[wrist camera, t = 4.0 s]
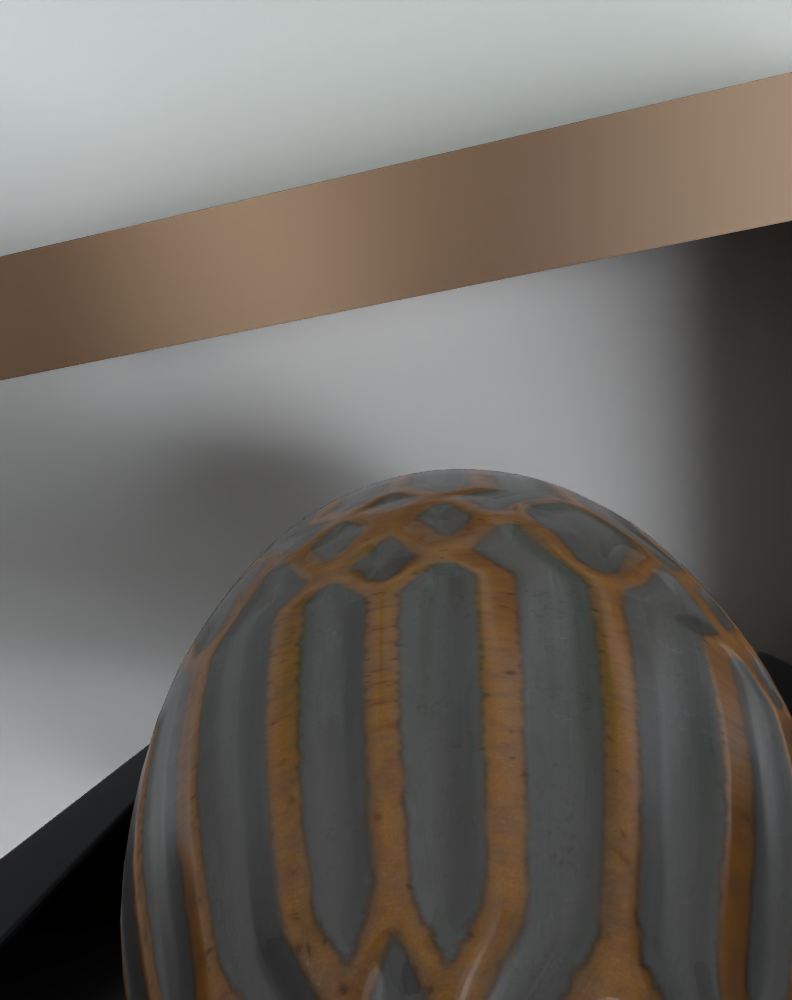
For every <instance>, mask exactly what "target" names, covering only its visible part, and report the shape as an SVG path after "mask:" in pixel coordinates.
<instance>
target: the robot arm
mask: <svg viewBox="0 0 792 1000" xmlns="http://www.w3.org/2000/svg"><path fill="white" fill-rule="evenodd" d="M756 654H757V655H758V657H759V658H760V660H761V661H762V663H763V665H764V666H765V668H766V669H767V671H768V672H769V674H770V676H771V678H772V680H773V682H774V684H775V686H776V687H777V689H778V691H779V693H780V695H781V697H782V699H783V701H784V703H785V705H786V706H787V708H788V710H789V712H790V714H791V716H792V665H791V664H789V663H787V662H785V661H783V660H781V659H779V658H777V657H775V656H773V655H770V654H768V653H764V652H758V653H756ZM149 745H150V744H149ZM149 745H148V746H146V747H145V748H144V749H142V750H141V751H140V752H138V753H137V754H136V755H135V756H133V757H132V758H131V759H129V760H128V761H127V762H126V763H124V764H123V765H122V766H120V767H119V768H118V769H117V770H115V771H114V772H113V773H111V774H110V775H109V776H107V777H106V778H105V779H104V780H102V781H101V782H100V783H98V784H97V785H96V786H95V787H93V788H92V789H91V790H89V791H88V792H87V793H85V794H84V795H83V796H82V797H80V798H79V799H78V800H76V801H75V802H74V803H73V804H71V805H70V806H69V807H67V808H66V809H65V810H63V811H62V812H61V813H60V814H58V815H57V816H56V817H54V818H53V819H52V820H51V821H49V822H48V823H47V824H45V825H44V826H43V827H41V828H40V829H39V830H38V831H36V832H35V833H34V834H32V835H31V836H30V837H29V838H27V839H26V840H25V841H23V842H22V843H21V844H20V845H18V846H17V847H16V848H14V849H13V850H12V851H10V852H9V853H8V854H7V855H5V856H4V857H3V858H1V859H0V1000H126V996H125V989H124V983H123V968H122V949H121V927H120V918H121V902H122V886H123V872H124V862H125V855H126V849H127V842H128V836H129V829H130V823H131V818H132V813H133V808H134V803H135V799H136V794H137V790H138V785H139V781H140V776H141V772H142V768H143V765H144V762H145V758H146V755H147V752H148V748H149Z"/></svg>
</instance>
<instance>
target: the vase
mask: <svg viewBox="0 0 792 1000" xmlns="http://www.w3.org/2000/svg"><path fill="white" fill-rule="evenodd" d="M120 927H121V949H122V968H123V983H124V989H125V996H126V1000H792V716H791V714H790V712H789V710H788V708H787V706H786V705H785V703H784V701H783V699H782V697H781V695H780V693H779V691H778V689H777V687H776V686H775V684H774V682H773V680H772V678H771V676H770V674H769V672H768V671H767V669H766V668H765V666H764V665H763V663H762V661H761V660H760V658H759V657H758V655H757V654H756V652H755V651H754V649H753V648H752V647H751V645H750V644H749V643H748V641H747V640H746V638H745V637H744V636H743V634H742V633H741V632H740V630H739V629H738V627H737V626H736V625H735V623H734V622H733V621H732V620H731V618H730V617H729V616H728V615H727V613H726V612H725V611H724V610H723V608H722V607H721V606H720V605H719V604H718V603H717V602H716V600H715V599H714V598H713V597H712V596H711V595H710V594H709V593H708V592H707V590H706V589H705V588H704V587H703V586H702V585H701V584H700V583H699V582H698V581H697V580H696V579H695V578H694V577H693V575H692V574H691V573H690V572H689V571H688V570H687V569H686V568H685V567H684V566H683V565H682V564H680V563H679V562H678V561H677V560H676V559H675V558H674V557H673V556H672V555H670V554H669V553H668V552H667V551H666V550H665V549H664V548H663V547H661V546H660V545H659V544H658V543H657V542H656V541H654V540H653V539H652V538H651V537H650V536H649V535H647V534H646V533H645V532H643V531H642V530H640V529H639V528H638V527H636V526H635V525H634V524H632V523H631V522H629V521H627V520H626V519H624V518H622V517H621V516H619V515H618V514H616V513H614V512H613V511H611V510H609V509H607V508H605V507H603V506H601V505H599V504H597V503H595V502H593V501H591V500H589V499H587V498H585V497H583V496H581V495H579V494H577V493H575V492H572V491H570V490H567V489H565V488H562V487H560V486H557V485H554V484H551V483H548V482H545V481H541V480H538V479H534V478H530V477H526V476H521V475H517V474H510V473H504V472H498V471H488V470H476V469H447V470H434V471H427V472H419V473H413V474H409V475H404V476H400V477H395V478H391V479H387V480H384V481H381V482H378V483H374V484H371V485H369V486H366V487H363V488H361V489H358V490H356V491H353V492H351V493H349V494H347V495H345V496H343V497H341V498H339V499H337V500H335V501H333V502H331V503H330V504H328V505H326V506H324V507H323V508H321V509H319V510H318V511H316V512H315V513H313V514H311V515H310V516H308V517H306V518H305V519H303V520H302V521H301V522H299V523H298V524H296V525H295V526H294V527H292V528H291V529H289V530H288V531H287V532H286V533H284V534H283V535H282V536H281V537H280V538H278V539H277V540H276V541H275V542H274V543H273V544H272V545H271V546H270V547H269V548H268V549H267V550H266V551H265V552H264V553H263V554H262V555H261V556H260V557H259V558H258V559H257V560H256V561H255V562H254V563H253V564H252V565H251V566H250V567H249V568H248V569H247V570H246V572H245V573H244V574H243V575H242V576H241V577H240V578H239V580H238V581H237V582H236V583H235V584H234V586H233V587H232V588H231V589H230V591H229V592H228V593H227V595H226V596H225V597H224V599H223V600H222V601H221V603H220V604H219V605H218V607H217V608H216V609H215V611H214V612H213V613H212V615H211V616H210V618H209V619H208V621H207V622H206V624H205V625H204V627H203V628H202V630H201V631H200V633H199V635H198V636H197V638H196V640H195V641H194V643H193V645H192V646H191V648H190V650H189V652H188V653H187V655H186V657H185V659H184V660H183V662H182V664H181V666H180V668H179V669H178V671H177V674H176V676H175V678H174V681H173V683H172V685H171V688H170V690H169V692H168V695H167V697H166V700H165V702H164V704H163V707H162V709H161V712H160V714H159V716H158V719H157V722H156V725H155V729H154V732H153V735H152V738H151V742H150V745H149V748H148V752H147V755H146V758H145V762H144V765H143V768H142V772H141V776H140V781H139V785H138V790H137V794H136V799H135V803H134V808H133V813H132V818H131V823H130V829H129V836H128V842H127V849H126V855H125V862H124V872H123V886H122V902H121V918H120Z"/></svg>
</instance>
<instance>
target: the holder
mask: <svg viewBox="0 0 792 1000" xmlns="http://www.w3.org/2000/svg"><path fill="white" fill-rule="evenodd" d="M787 221H792V72H790V73H786V74H782V75H778V76H773V77H769V78H765V79H760V80H756V81H752V82H748V83H743V84H739V85H735V86H730V87H726V88H722V89H718V90H713V91H709V92H705V93H700V94H696V95H692V96H688V97H683V98H679V99H675V100H670V101H666V102H662V103H658V104H653V105H649V106H645V107H640V108H636V109H632V110H627V111H623V112H619V113H615V114H610V115H606V116H602V117H597V118H593V119H589V120H585V121H580V122H576V123H572V124H567V125H563V126H559V127H555V128H550V129H546V130H542V131H537V132H533V133H529V134H525V135H520V136H516V137H512V138H507V139H503V140H499V141H495V142H490V143H486V144H482V145H477V146H473V147H469V148H465V149H460V150H456V151H452V152H447V153H443V154H439V155H435V156H430V157H426V158H422V159H417V160H413V161H409V162H404V163H400V164H396V165H392V166H387V167H383V168H379V169H374V170H370V171H366V172H362V173H357V174H353V175H349V176H344V177H340V178H336V179H332V180H327V181H323V182H319V183H314V184H310V185H306V186H302V187H297V188H293V189H289V190H284V191H280V192H276V193H272V194H267V195H263V196H259V197H254V198H250V199H246V200H242V201H237V202H233V203H229V204H224V205H220V206H216V207H211V208H207V209H203V210H199V211H194V212H190V213H186V214H181V215H177V216H173V217H169V218H164V219H160V220H156V221H151V222H147V223H143V224H139V225H134V226H130V227H126V228H121V229H117V230H113V231H109V232H104V233H100V234H96V235H91V236H87V237H83V238H79V239H74V240H70V241H66V242H61V243H57V244H53V245H49V246H44V247H40V248H36V249H31V250H27V251H23V252H18V253H14V254H10V255H6V256H1V257H0V380H5V379H9V378H14V377H19V376H24V375H29V374H34V373H39V372H44V371H49V370H54V369H59V368H64V367H69V366H74V365H79V364H84V363H89V362H94V361H99V360H104V359H109V358H114V357H118V356H123V355H128V354H133V353H138V352H143V351H148V350H153V349H158V348H163V347H168V346H173V345H178V344H183V343H188V342H193V341H198V340H203V339H208V338H213V337H218V336H222V335H227V334H232V333H237V332H242V331H247V330H252V329H257V328H262V327H267V326H272V325H277V324H282V323H287V322H292V321H297V320H302V319H307V318H312V317H317V316H322V315H326V314H331V313H336V312H341V311H346V310H351V309H356V308H361V307H366V306H371V305H376V304H381V303H386V302H391V301H396V300H401V299H406V298H411V297H416V296H421V295H426V294H430V293H435V292H440V291H445V290H450V289H455V288H460V287H465V286H470V285H475V284H480V283H485V282H490V281H495V280H500V279H505V278H510V277H515V276H520V275H525V274H530V273H534V272H539V271H544V270H549V269H554V268H559V267H564V266H569V265H574V264H579V263H584V262H589V261H594V260H599V259H604V258H609V257H614V256H619V255H624V254H629V253H634V252H638V251H643V250H648V249H653V248H658V247H663V246H668V245H673V244H678V243H683V242H688V241H693V240H698V239H703V238H708V237H713V236H718V235H723V234H728V233H733V232H738V231H742V230H747V229H752V228H757V227H762V226H767V225H772V224H777V223H782V222H787Z"/></svg>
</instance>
